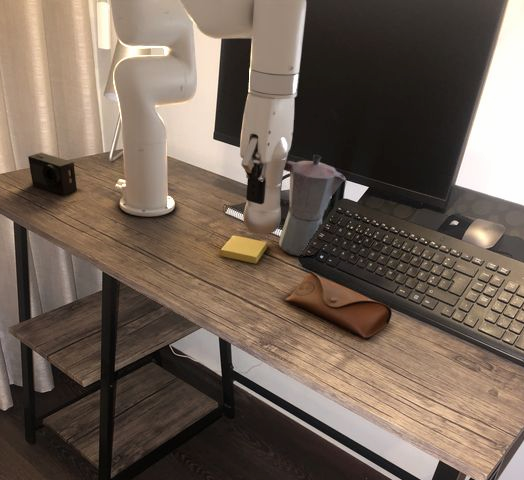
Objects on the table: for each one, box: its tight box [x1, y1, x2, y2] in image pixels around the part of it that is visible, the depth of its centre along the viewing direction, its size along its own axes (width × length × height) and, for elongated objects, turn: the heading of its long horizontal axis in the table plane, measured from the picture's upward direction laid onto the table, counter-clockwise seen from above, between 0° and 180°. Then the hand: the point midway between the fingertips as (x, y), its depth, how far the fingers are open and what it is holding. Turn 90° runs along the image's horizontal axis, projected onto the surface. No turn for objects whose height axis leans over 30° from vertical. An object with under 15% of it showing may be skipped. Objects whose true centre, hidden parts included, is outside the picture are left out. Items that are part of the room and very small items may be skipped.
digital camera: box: [27, 152, 78, 196], centre depth 132 cm, size 10×5×7 cm, turn 61°
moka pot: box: [278, 154, 347, 257], centre depth 113 cm, size 10×15×20 cm, turn 78°
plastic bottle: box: [243, 137, 290, 235], centre depth 94 cm, size 6×7×20 cm
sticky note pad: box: [220, 235, 268, 265], centre depth 115 cm, size 8×8×2 cm
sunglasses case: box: [284, 271, 393, 339], centre depth 99 cm, size 18×7×7 cm, turn 52°
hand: (263, 196), depth 96 cm, fingers closed on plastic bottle, 5 cm apart
